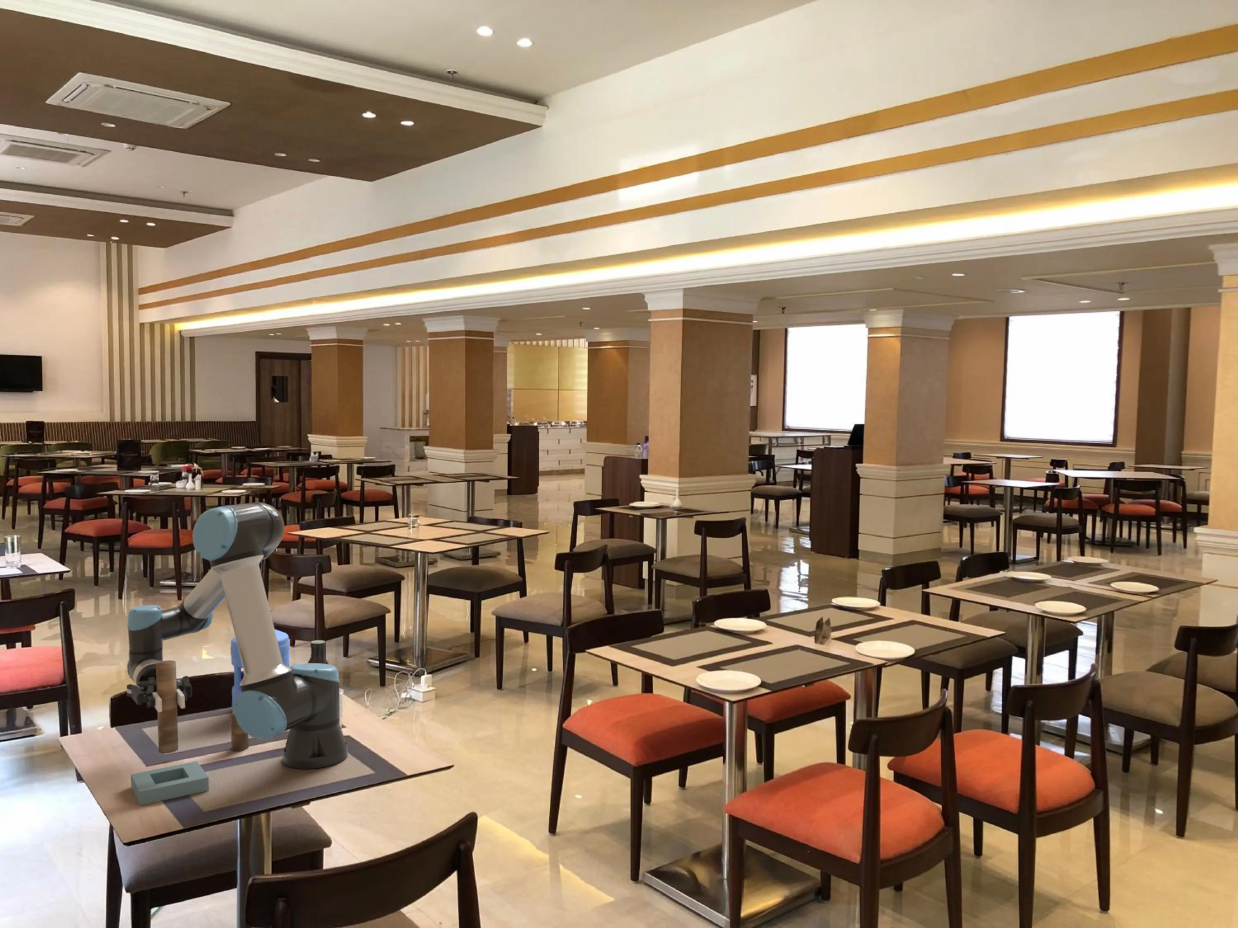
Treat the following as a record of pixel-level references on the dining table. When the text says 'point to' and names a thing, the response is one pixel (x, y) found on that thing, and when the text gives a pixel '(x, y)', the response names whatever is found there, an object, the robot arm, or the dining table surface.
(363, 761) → the dining table surface
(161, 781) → the hollow square block
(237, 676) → the water jug
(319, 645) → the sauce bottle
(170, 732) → the tall peg
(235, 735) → the short peg
